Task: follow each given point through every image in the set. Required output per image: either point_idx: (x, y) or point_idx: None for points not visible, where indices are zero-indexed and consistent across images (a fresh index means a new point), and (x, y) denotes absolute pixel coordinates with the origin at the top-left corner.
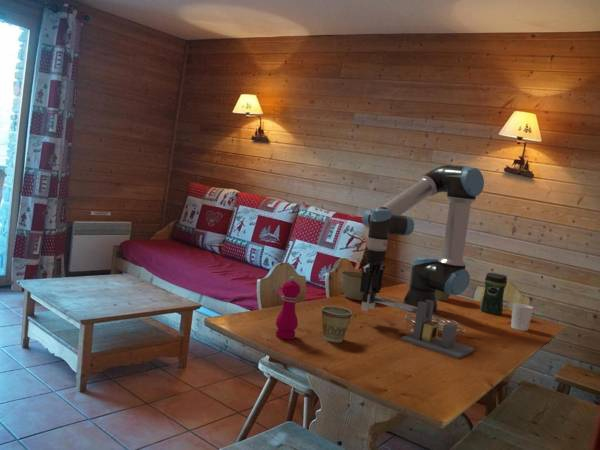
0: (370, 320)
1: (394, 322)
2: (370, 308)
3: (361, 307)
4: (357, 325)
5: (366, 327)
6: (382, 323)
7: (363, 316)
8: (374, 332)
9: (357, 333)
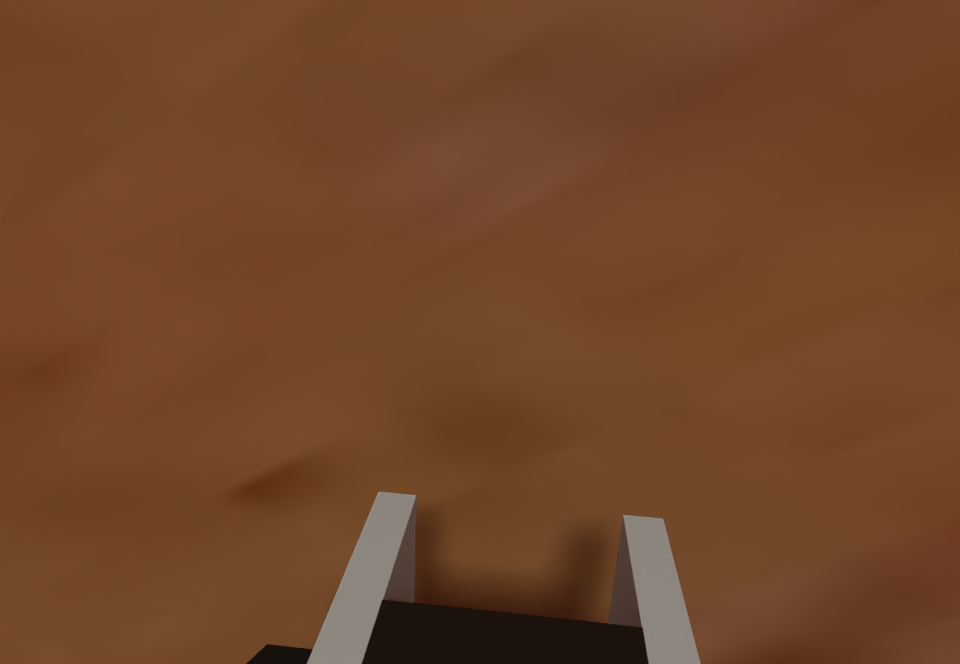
0: (694, 431)
1: (917, 658)
2: (616, 576)
3: (369, 520)
4: (278, 433)
5: (321, 535)
6: (705, 584)
7: (826, 262)
8: (245, 658)
9: (18, 567)
